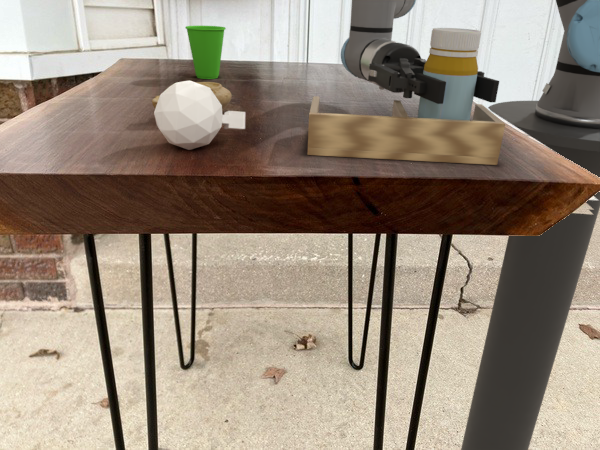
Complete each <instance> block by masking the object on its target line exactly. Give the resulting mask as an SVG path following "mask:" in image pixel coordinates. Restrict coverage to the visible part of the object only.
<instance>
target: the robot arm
mask: <svg viewBox="0 0 600 450" xmlns="http://www.w3.org/2000/svg"><path fill="white" fill-rule="evenodd" d="M416 1H417V0H351V10H350V24H349V33H348V34H349V35H348V37H347V39H346V40H345V41H344V43H343V44H342V47H341V50H340V61H341V63H342V66H343V68H344V69H345V70H346V72H349V74H351V75H352V76H354V77H355V78H357V79H362V80H364V81H366V82H369V83H371V84H373V85H376V86H378V89H379V90H385V91H388V92H391V93H395V94H399V93H400V94H401V93H403V94H402V98H403V99H412V98H413V94H414V96H415V95H416V96H417V97H419V98H420V97H422V98H425V99H427V100H430V101H432V102H434V103H437V104H443V101H444V94H445V87H446V82H445V81H442V80H439V79H436V78H433V77H430V76H427V75H424V74H423V71H424V65H425V63H426V61H427V59H426V58H422V57H421V54H420V53H419V51H418V50H417V49H416V48H415V47H414V46H412V45H410V44H406V43H402V42H398V41H396V40H392V37H393V29H394V20H396V19H400V18H402V17H404V16H406V15H407V14H408V13H409V12H411V11H412V9H413V8H414V7H415V4H416ZM555 3H556V6H557V11H558V14H559V18H560V20H561V24H562V27H563V35H562V39H561V43H560V47H559V53H558V57H557V60H556V66H555V70H554V73H553V75H552V77H551V79H550V80H549V82H546V83H545V85H544V87H543V89H542V91H541V92H542V94H541V96H540V97H539V99H538V100H537V101H538V103H537V105H536V110H535V115H536V116H537V117H539V118H541V119H543V120H546V121H549V122H553V123H557V124H562V125H567V126H573V127H580V128H590V129H600V0H555ZM499 86H500V80H497V79H494V78H490V77H487V76H485V72H483V71H479V70H478V72H477V80H476V85H475V91H474V97H473V98H476V99H479V100H483V101H485V102H488V103H496V101H497V96H498V91H499Z"/></svg>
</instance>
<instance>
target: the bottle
mask: <svg viewBox="0 0 600 450" xmlns="http://www.w3.org/2000/svg"><path fill="white" fill-rule="evenodd" d="M481 35H482V31H481V30H479V29H478V30H476V29H470V28H456V27H434V28H432V30H431V35H430V44H429V45H430V47H429V51H428V53H429V54H428V57H427V59H426V63H425V65H424V71H423V74H424V75H427V76H430V77H433V78H436V79H439V80H442V81H445V82H446V87H445V94H444V101H443V104H437V103H434V102H432V101H430V100H427V99H425V98H422V97H420V96H419V103H418V111H417V117H416V118H431V119H451V120H470V119H471V115H472V110H473V109H472V108H473V104H474V103H473V102H474V98H475V97H474V91H475V85H476V80H477V72H478V71H479V66H478V60H477V56H478V52H479V51H478V49H479V47H480V41H481Z"/></svg>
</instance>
